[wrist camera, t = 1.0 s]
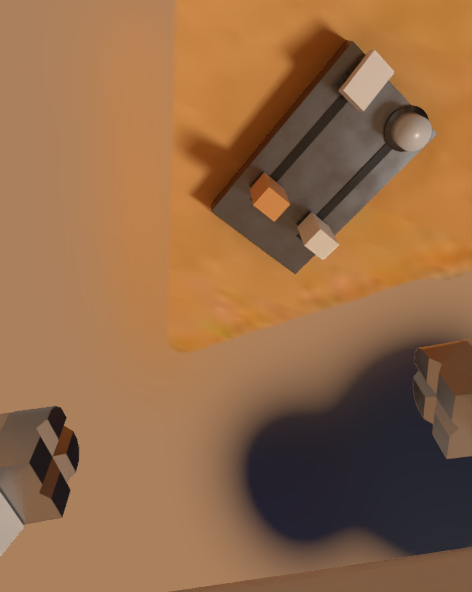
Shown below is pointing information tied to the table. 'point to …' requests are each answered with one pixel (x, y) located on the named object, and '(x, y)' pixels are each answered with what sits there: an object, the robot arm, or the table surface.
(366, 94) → the plate
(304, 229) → the fader ivory
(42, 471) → the robot arm
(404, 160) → the console
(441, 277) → the table surface
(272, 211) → the fader orange
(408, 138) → the button
